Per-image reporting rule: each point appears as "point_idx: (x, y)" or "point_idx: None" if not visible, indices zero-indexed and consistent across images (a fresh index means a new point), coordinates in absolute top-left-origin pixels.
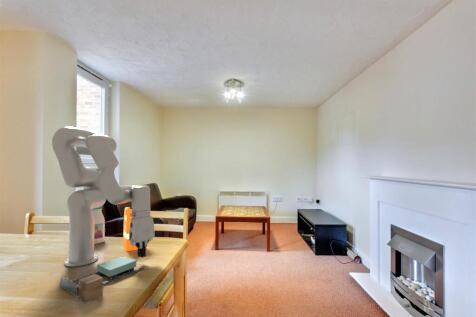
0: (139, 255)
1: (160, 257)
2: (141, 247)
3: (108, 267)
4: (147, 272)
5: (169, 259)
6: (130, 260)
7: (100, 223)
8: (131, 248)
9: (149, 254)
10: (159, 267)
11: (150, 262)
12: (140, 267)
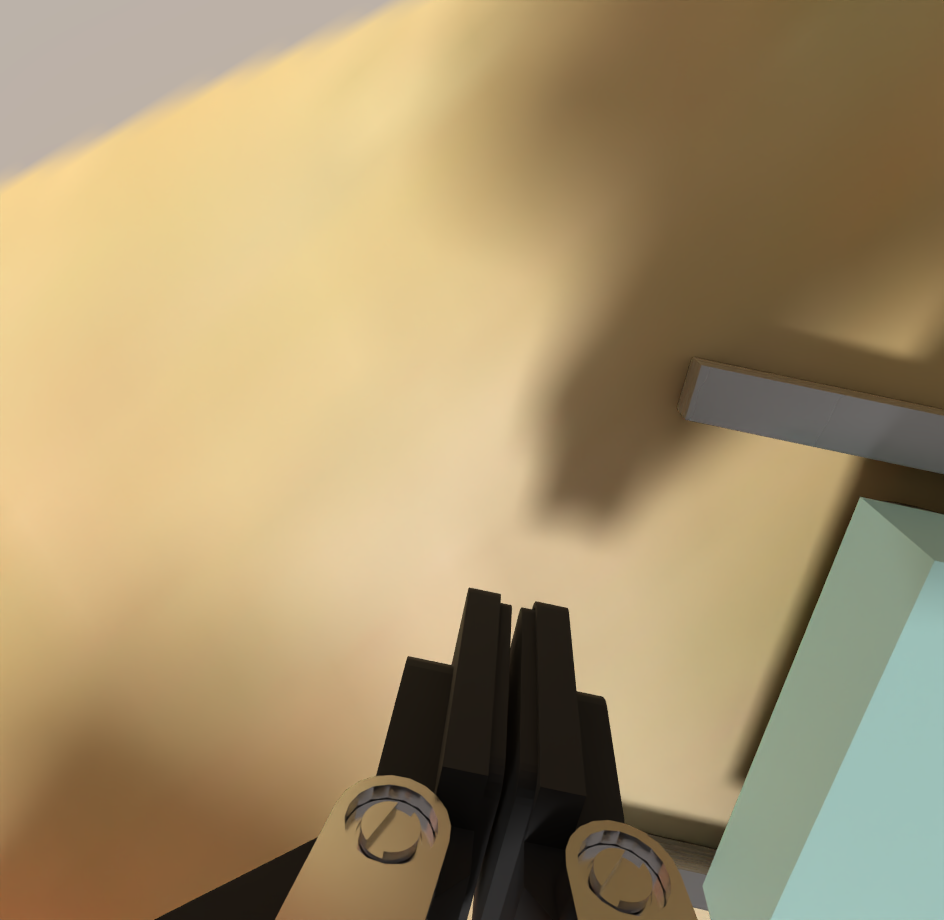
0: (597, 708)
1: (62, 455)
2: (614, 854)
3: None
4: (851, 153)
5: (29, 179)
6: None
7: None
8: None
9: (75, 743)
10: (509, 75)
11: (367, 473)
12: (766, 430)
